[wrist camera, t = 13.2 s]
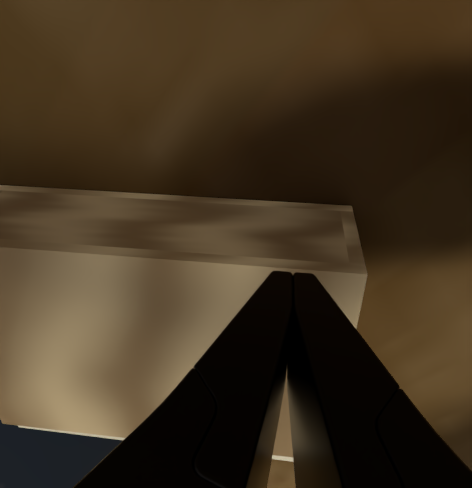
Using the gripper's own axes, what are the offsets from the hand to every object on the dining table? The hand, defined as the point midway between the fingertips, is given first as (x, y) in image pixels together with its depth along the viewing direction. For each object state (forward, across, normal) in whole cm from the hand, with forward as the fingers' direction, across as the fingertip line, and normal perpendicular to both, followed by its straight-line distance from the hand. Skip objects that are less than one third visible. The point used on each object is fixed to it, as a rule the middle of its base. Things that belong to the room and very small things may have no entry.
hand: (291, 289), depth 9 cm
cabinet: (+12, +6, +10) cm, 17 cm away
